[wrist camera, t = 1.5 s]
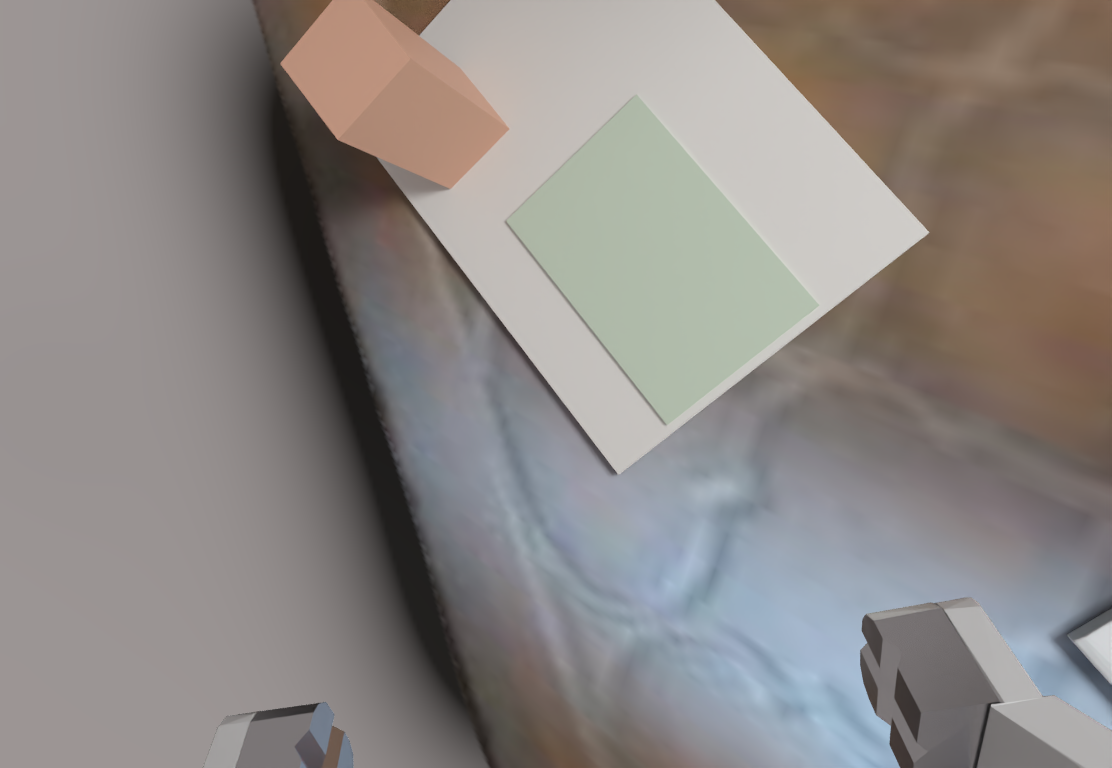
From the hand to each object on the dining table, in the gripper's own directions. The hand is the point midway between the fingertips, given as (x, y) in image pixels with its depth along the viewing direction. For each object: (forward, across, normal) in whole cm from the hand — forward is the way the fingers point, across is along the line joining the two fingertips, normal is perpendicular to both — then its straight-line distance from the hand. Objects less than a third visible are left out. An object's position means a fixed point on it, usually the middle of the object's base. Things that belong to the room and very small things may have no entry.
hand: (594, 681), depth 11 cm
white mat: (+34, -3, +3) cm, 35 cm away
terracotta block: (+39, +5, 0) cm, 39 cm away
